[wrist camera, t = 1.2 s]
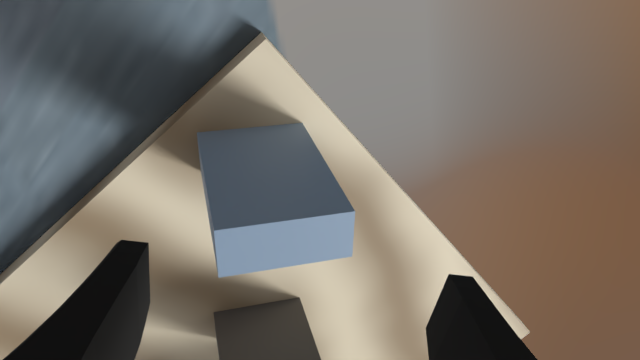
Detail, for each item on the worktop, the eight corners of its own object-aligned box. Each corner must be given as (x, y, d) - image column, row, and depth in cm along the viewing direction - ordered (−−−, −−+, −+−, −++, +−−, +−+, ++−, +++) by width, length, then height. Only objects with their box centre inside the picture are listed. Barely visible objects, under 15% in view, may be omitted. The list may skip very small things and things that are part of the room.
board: (275, 506, 38) (278, 520, 37) (-93, 360, 24) (-102, 378, 23) (521, 321, 35) (530, 332, 34) (261, 32, 21) (266, 38, 20)
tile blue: (302, 160, 23) (352, 256, 18) (200, 171, 22) (218, 277, 17) (302, 122, 23) (355, 211, 17) (196, 132, 21) (213, 230, 16)
